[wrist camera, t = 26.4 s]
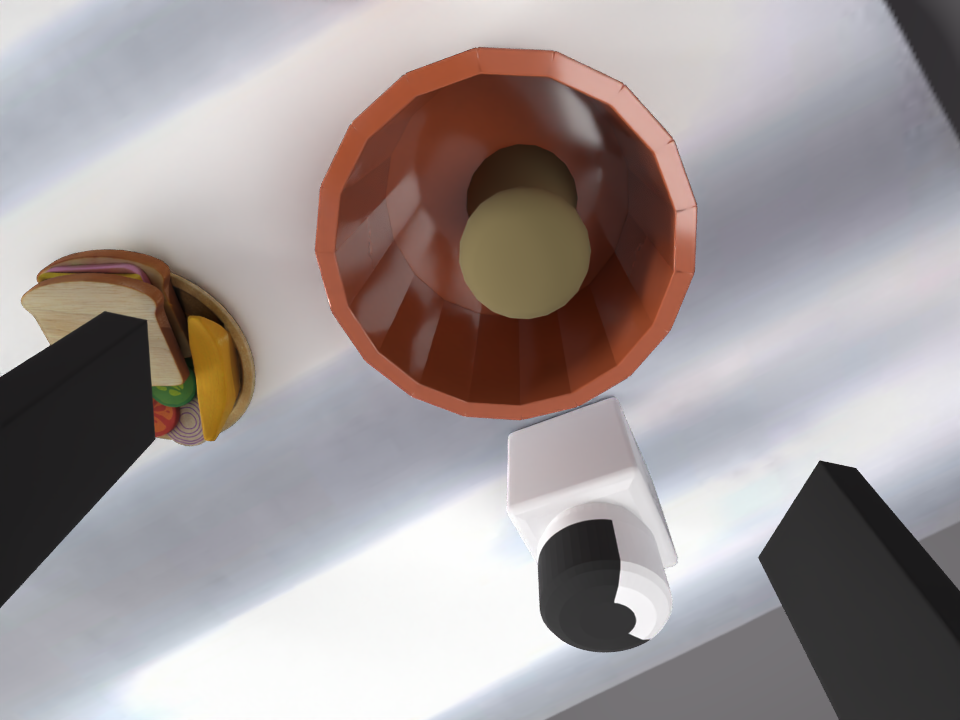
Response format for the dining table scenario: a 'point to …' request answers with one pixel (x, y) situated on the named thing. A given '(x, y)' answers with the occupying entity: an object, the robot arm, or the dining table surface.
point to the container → (592, 528)
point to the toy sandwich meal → (156, 335)
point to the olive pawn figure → (523, 233)
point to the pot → (443, 217)
